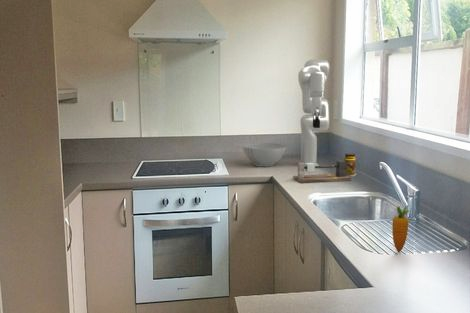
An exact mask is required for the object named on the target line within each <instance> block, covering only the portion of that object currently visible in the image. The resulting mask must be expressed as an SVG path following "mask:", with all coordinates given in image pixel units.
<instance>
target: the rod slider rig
mask: <svg viewBox="0 0 470 313" xmlns="http://www.w3.org/2000/svg"><path fill="white" fill-rule="evenodd" d="M346 163H347V162H345V161H344V160H336V162H335V164H336V165H335V164H331V165H319V166H315V169H331V168H332V169H334V168H335V173H326V174H325V173H323V174H309V175H307V174H306V175H305V169H307V166H305V167H304V163H301V162H297V175H293V176H292V178H293V180H295V181H297V182H298V183H300V184H310V183H311V184H315V183H317V184H318V183H331V182H332V183H336V182H352V178H351V176H346Z"/></svg>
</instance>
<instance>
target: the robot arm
mask: <svg viewBox="0 0 470 313" xmlns="http://www.w3.org/2000/svg"><path fill="white" fill-rule="evenodd" d="M329 73H330V63H329V61H328V60H326V59H309V60H307V61H306V62H305V63H304V67H303V68H301V69H300V70H299V71H298V75H297V76H298V78H297V79H298V84H299V87H300V89H301V94H302V95H301V96H302V99H301V100H302V101H301V103H302V112H303V113H305V115H302V116H301V117H300V121H299V122H300V129H301V130H300V131H301V132H300V133H301V140H300V141H301V143H300V144H301V146H300V163H304V167H305V163H313V164H315V166H320V165H319V163H317V152H318V151H317V150H318V149H317V148H318V138H317V135H316V134H315V133H314V131H315V132H316V131H319V132H321V131H328V129H329V127H330V105H329V101H328V99H326V98H325V84H326V83H327V80H328V76H329Z"/></svg>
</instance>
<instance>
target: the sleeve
mask: <svg viewBox="0 0 470 313" xmlns="http://www.w3.org/2000/svg"><path fill="white" fill-rule="evenodd" d="M305 166H307V169H304V172H307V173H314V172H315V171H316V168H315V164H313V163H305Z"/></svg>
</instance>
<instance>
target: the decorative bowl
mask: <svg viewBox="0 0 470 313" xmlns="http://www.w3.org/2000/svg"><path fill="white" fill-rule="evenodd" d="M286 147H287V146H286V145H284V144H282V143H281V144H280V143H270V142H259V143H258V142H256V143H248V144H247V143H246V144H244V145H242V148H243V151H244V154H245V157H247V159H248V160H249V161H251V162H252V163H253V164H254V165H253V166H255V165H256V167H260V166H269V167H274V166H273V165H275V164H276V163H278V162H279V161H280V160H281V159H282V157H283V156H284V154H285V151H286V149H287V148H286Z"/></svg>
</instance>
